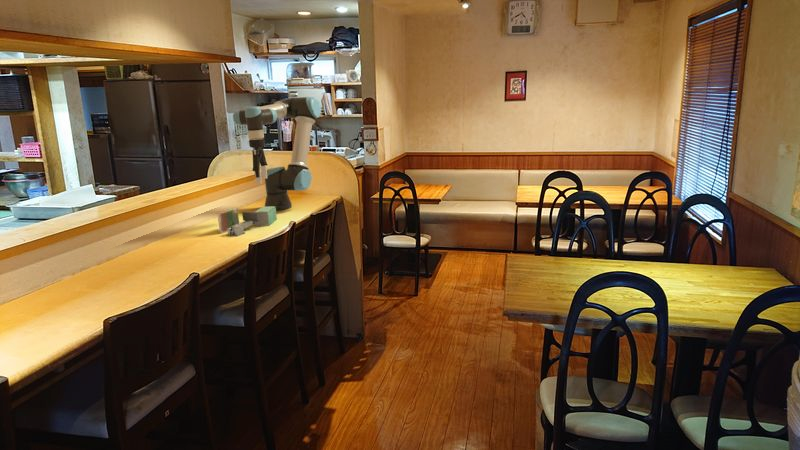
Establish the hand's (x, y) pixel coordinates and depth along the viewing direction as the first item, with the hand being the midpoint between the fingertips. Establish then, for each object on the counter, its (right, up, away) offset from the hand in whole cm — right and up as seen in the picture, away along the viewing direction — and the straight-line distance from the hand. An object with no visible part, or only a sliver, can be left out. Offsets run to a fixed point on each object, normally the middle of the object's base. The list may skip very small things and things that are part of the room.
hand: (261, 181), depth 266 cm
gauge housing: (-9, -25, -11) cm, 29 cm away
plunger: (-7, -23, -11) cm, 27 cm away
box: (+1, -21, +4) cm, 22 cm away
